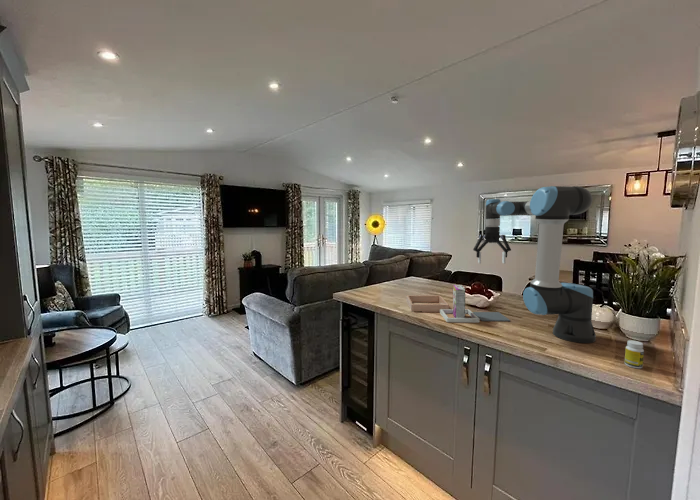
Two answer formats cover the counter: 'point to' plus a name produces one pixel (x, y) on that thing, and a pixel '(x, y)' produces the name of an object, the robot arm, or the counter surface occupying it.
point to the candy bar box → (458, 301)
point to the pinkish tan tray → (427, 307)
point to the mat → (491, 316)
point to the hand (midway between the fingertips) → (491, 263)
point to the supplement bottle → (634, 354)
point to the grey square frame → (467, 311)
